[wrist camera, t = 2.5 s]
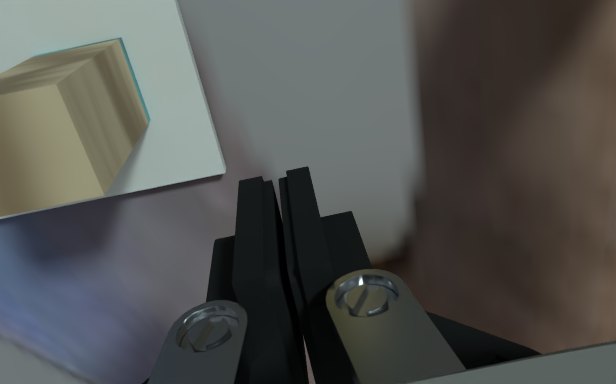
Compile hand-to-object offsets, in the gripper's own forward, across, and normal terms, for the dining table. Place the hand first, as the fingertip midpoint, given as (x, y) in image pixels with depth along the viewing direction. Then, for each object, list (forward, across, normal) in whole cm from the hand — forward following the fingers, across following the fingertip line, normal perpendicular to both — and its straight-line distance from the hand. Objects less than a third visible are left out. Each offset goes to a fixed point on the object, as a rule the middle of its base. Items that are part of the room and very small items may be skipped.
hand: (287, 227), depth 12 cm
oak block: (+20, +10, 0) cm, 22 cm away
